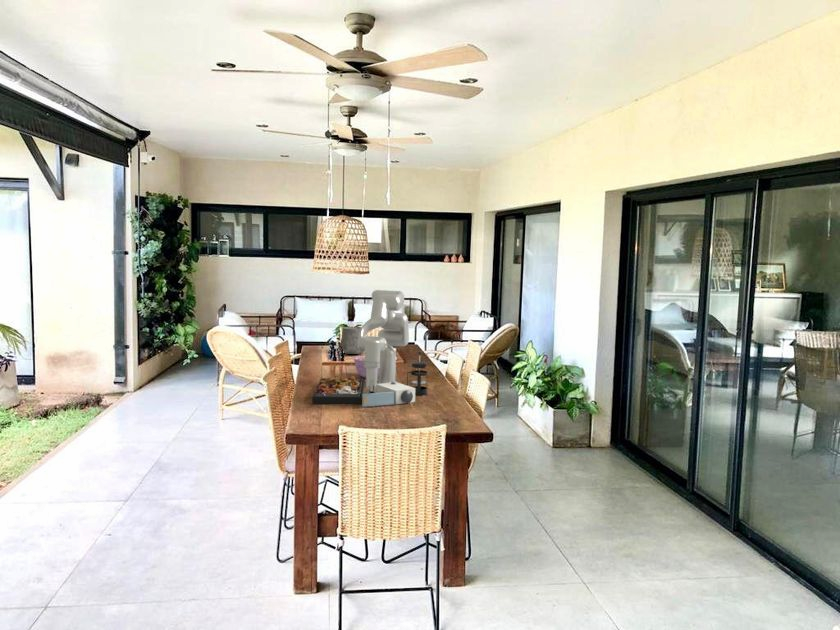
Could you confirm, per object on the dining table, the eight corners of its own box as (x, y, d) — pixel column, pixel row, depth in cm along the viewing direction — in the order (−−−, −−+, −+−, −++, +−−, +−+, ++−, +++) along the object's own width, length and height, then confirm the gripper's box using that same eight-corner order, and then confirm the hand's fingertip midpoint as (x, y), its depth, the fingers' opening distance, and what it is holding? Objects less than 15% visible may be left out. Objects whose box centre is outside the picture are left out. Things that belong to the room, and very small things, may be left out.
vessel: (331, 355, 456) (332, 328, 454) (344, 351, 477) (345, 325, 475) (359, 357, 450) (359, 329, 448) (371, 353, 470) (371, 326, 468)
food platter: (362, 406, 311) (362, 385, 310) (312, 405, 309) (312, 384, 308) (364, 386, 356) (364, 368, 355) (320, 386, 354) (320, 368, 353)
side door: (363, 407, 304) (363, 394, 303) (362, 406, 305) (362, 393, 305) (397, 404, 311) (397, 392, 310) (395, 403, 312) (396, 391, 312)
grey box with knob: (375, 397, 327) (376, 382, 327) (395, 394, 335) (395, 380, 334) (397, 405, 311) (398, 389, 311) (417, 402, 319) (417, 387, 318)
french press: (428, 392, 343) (430, 350, 341) (428, 396, 334) (430, 353, 331) (407, 391, 343) (408, 349, 341) (406, 395, 334) (407, 352, 332)
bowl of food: (389, 374, 389) (389, 356, 388) (384, 381, 369) (384, 361, 368) (357, 373, 391) (357, 354, 390) (350, 379, 371) (350, 360, 370)
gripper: (365, 361, 315) (364, 397, 317) (363, 367, 301) (363, 404, 303) (380, 361, 316) (379, 397, 318) (379, 367, 301) (378, 405, 303)
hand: (371, 401), depth 310 cm, fingers closed
